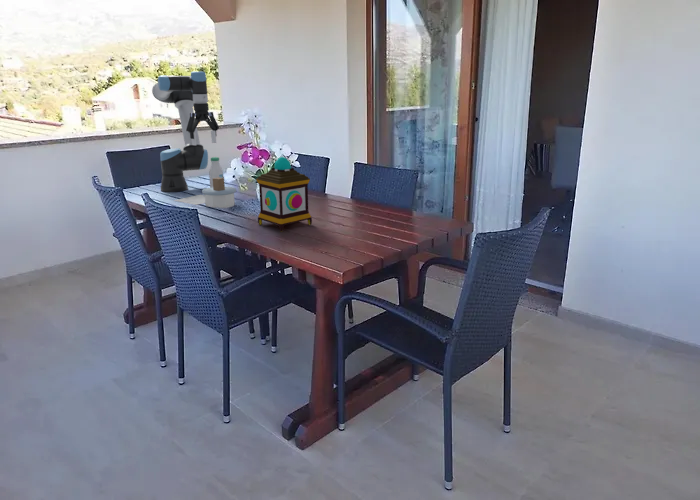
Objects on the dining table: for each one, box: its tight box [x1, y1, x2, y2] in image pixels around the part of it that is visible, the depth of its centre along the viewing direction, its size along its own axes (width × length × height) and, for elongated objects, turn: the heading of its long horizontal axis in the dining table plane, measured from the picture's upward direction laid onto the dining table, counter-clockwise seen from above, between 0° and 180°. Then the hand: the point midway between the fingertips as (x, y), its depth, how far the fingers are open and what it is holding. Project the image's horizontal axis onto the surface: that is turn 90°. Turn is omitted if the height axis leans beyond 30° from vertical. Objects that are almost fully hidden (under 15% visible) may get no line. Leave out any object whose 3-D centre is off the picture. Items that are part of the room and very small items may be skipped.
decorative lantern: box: [255, 156, 313, 233], centre depth 220 cm, size 20×20×30 cm
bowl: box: [204, 193, 235, 209], centre depth 259 cm, size 14×14×7 cm
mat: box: [173, 194, 206, 206], centre depth 270 cm, size 18×18×1 cm
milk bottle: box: [208, 156, 224, 188], centre depth 286 cm, size 8×8×20 cm
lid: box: [201, 177, 237, 195], centre depth 256 cm, size 17×17×7 cm
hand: (204, 144), depth 270 cm, fingers open, 13 cm apart
